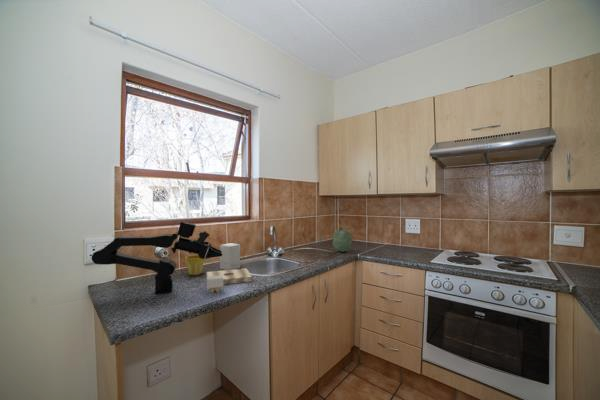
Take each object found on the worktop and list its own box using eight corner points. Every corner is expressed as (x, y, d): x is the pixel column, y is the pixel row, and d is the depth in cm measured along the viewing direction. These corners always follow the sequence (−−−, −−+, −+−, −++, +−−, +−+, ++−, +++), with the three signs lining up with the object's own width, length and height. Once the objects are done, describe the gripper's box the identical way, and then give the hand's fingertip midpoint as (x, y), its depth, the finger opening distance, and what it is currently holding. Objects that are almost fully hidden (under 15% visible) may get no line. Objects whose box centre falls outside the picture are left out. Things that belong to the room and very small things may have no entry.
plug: (206, 294, 109) (207, 279, 109) (206, 290, 113) (207, 276, 113) (223, 292, 112) (223, 278, 112) (222, 288, 116) (222, 275, 116)
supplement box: (240, 268, 151) (241, 244, 151) (228, 271, 144) (229, 246, 144) (231, 265, 156) (231, 242, 156) (219, 268, 149) (219, 244, 149)
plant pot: (192, 270, 145) (193, 253, 145) (208, 271, 143) (208, 255, 143) (180, 275, 135) (181, 257, 135) (197, 276, 132) (197, 259, 132)
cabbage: (340, 249, 217) (341, 227, 217) (356, 253, 201) (357, 229, 201) (327, 251, 208) (327, 227, 208) (342, 255, 192) (343, 230, 193)
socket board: (207, 286, 119) (207, 281, 119) (206, 276, 134) (206, 271, 134) (252, 281, 127) (252, 276, 127) (246, 272, 142) (246, 268, 142)
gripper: (193, 230, 107) (228, 239, 112) (195, 228, 125) (225, 236, 130) (184, 255, 106) (220, 263, 110) (188, 249, 123) (219, 256, 128)
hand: (221, 253), depth 120 cm, fingers open, 9 cm apart
